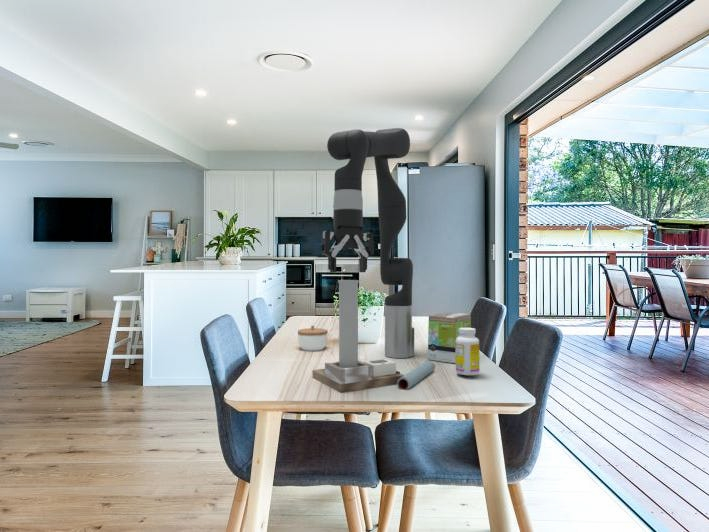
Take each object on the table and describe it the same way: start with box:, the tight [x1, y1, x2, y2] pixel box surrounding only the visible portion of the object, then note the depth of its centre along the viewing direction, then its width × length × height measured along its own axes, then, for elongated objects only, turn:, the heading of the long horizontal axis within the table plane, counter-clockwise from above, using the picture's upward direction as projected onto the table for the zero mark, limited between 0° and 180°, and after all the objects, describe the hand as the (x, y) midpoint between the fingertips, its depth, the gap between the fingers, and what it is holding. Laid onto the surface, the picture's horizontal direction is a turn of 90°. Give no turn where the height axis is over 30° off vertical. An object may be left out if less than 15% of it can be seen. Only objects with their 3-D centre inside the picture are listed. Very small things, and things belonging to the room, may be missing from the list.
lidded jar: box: [297, 325, 328, 352], centre depth 160 cm, size 11×11×9 cm
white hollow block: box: [363, 358, 397, 377], centre depth 119 cm, size 7×5×3 cm
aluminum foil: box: [396, 360, 436, 391], centre depth 122 cm, size 23×7×3 cm, turn 154°
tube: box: [337, 279, 360, 368], centre depth 114 cm, size 5×5×25 cm
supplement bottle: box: [455, 327, 480, 376], centre depth 128 cm, size 7×7×13 cm
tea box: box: [427, 312, 472, 364], centre depth 150 cm, size 15×10×15 cm, turn 148°
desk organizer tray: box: [312, 360, 405, 393], centre depth 120 cm, size 19×17×6 cm
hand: (348, 272), depth 114 cm, fingers open, 8 cm apart
